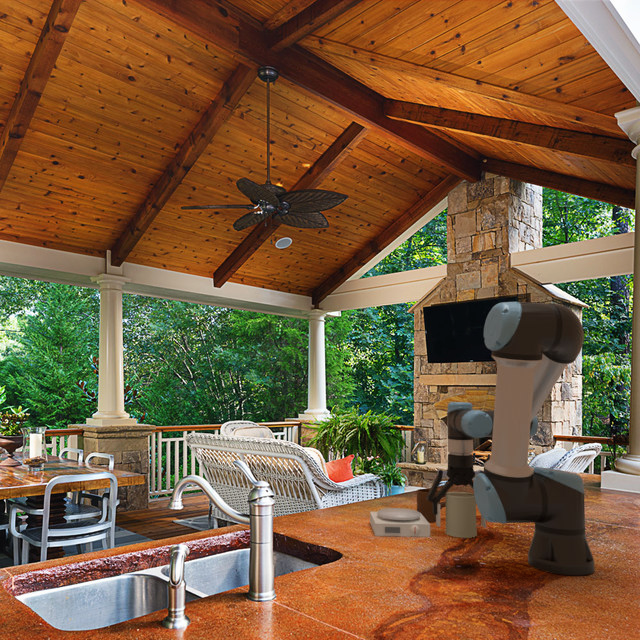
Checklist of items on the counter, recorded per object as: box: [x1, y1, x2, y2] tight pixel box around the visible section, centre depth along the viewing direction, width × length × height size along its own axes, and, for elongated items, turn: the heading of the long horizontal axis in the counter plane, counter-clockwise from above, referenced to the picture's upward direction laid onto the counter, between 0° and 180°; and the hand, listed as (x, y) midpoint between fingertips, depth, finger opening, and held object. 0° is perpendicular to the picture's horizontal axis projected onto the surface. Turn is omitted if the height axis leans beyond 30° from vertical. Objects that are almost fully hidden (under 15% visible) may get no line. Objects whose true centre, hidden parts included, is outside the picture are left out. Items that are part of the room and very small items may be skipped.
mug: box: [416, 488, 448, 523], centre depth 190 cm, size 12×8×9 cm, turn 98°
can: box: [444, 491, 478, 539], centre depth 172 cm, size 9×9×12 cm
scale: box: [369, 507, 431, 538], centre depth 175 cm, size 16×16×5 cm
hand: (460, 526), depth 172 cm, fingers open, 13 cm apart
